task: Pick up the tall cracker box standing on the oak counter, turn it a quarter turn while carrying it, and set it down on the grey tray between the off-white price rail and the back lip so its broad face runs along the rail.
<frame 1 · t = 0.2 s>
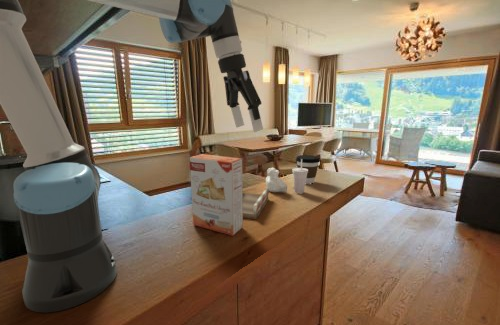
hand: (248, 128, 78), 28 cm above the counter, tool tilted 15°, fingers open, 13 cm apart
bust: (274, 191, 105), on the counter
coffee cup: (306, 182, 116), on the counter
cracker box: (217, 227, 74), on the counter
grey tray: (247, 206, 88), on the counter
smoothie: (299, 192, 103), on the counter
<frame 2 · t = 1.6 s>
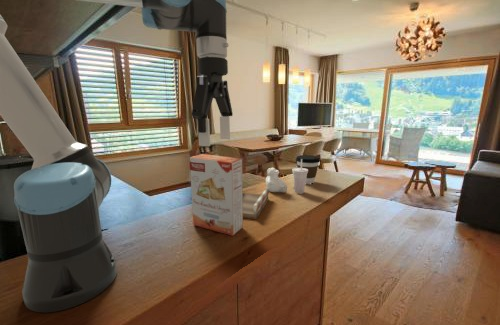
hand: (215, 142, 68), 25 cm above the counter, tool pointing down, fingers open, 13 cm apart
nothing on the counter moved.
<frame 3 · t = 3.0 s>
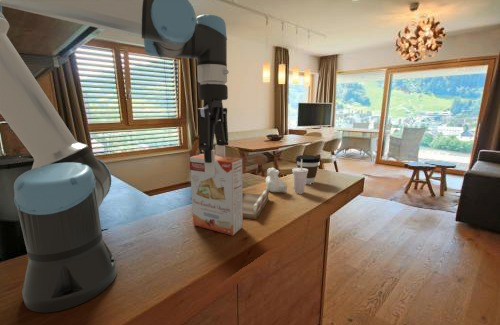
hand: (215, 170, 70), 17 cm above the counter, tool pointing down, fingers closed on cracker box, 6 cm apart
cracker box: (217, 227, 73), on the counter, touching gripper
everything else where it was.
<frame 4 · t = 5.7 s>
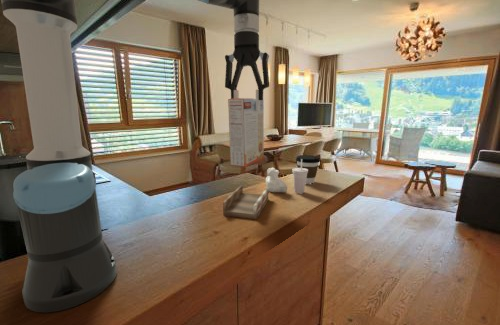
hand: (247, 111, 81), 33 cm above the counter, tool pointing down, fingers closed on cracker box, 6 cm apart
cracker box: (247, 162, 85), point 16 cm above the counter, touching gripper
everything else where it was.
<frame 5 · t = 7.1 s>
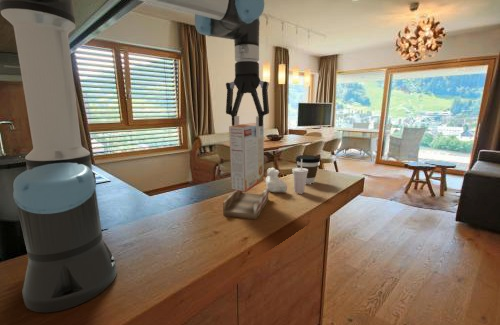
hand: (247, 136, 83), 25 cm above the counter, tool pointing down, fingers closed on cracker box, 6 cm apart
cracker box: (247, 185, 87), point 8 cm above the counter, touching gripper
everything else where it was.
when the fingers open (20 cm above the counter, at t = 8.4 s): cracker box drops 1 cm, resting on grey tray.
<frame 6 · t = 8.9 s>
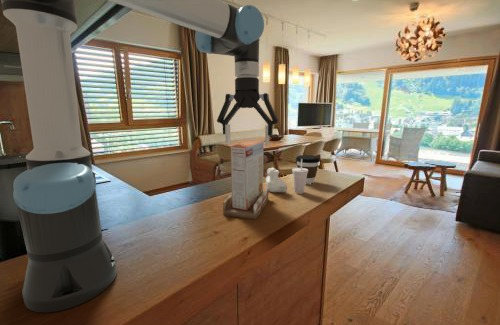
hand: (247, 144, 84), 22 cm above the counter, tool pointing down, fingers open, 13 cm apart
cracker box: (248, 203, 88), point 1 cm above the counter, touching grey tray
everything else where it was.
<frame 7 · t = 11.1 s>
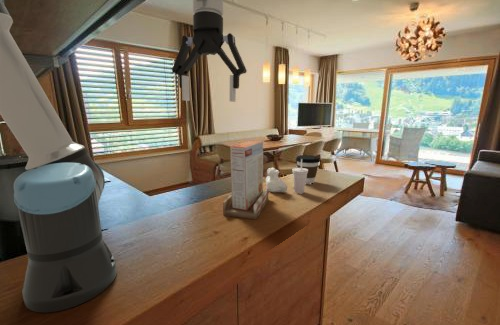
hand: (208, 101, 68), 36 cm above the counter, tool pointing down, fingers open, 13 cm apart
nothing on the counter moved.
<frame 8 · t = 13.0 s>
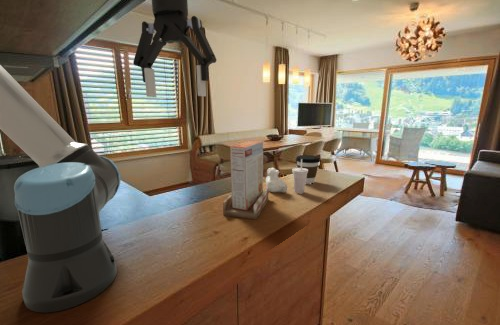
hand: (176, 96, 60), 37 cm above the counter, tool pointing down, fingers open, 13 cm apart
nothing on the counter moved.
at the end: cracker box inside the target area on the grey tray (0.2 cm from its centre), point 1.4 cm above the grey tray's base; cracker box tilted 0°; cracker box touching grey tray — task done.
